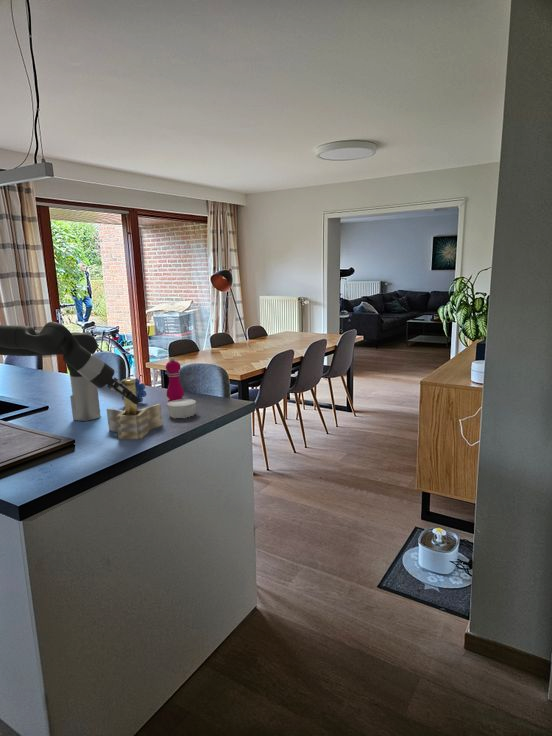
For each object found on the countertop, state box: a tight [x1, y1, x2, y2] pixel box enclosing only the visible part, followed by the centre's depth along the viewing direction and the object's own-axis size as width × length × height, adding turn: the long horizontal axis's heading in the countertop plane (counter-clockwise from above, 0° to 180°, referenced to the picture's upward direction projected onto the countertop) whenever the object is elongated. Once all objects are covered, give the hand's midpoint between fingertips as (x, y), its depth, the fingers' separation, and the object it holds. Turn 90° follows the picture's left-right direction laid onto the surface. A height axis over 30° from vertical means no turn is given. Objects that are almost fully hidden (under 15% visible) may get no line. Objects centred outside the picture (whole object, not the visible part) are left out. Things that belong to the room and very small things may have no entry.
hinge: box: [106, 403, 164, 440], centre depth 166 cm, size 18×15×8 cm
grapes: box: [120, 376, 147, 404], centre depth 202 cm, size 12×7×12 cm, turn 122°
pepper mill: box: [165, 356, 185, 403], centre depth 200 cm, size 7×7×20 cm
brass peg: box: [121, 378, 139, 415], centre depth 160 cm, size 4×4×14 cm
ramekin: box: [166, 398, 197, 419], centre depth 184 cm, size 11×11×5 cm
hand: (136, 400), depth 161 cm, fingers open, 4 cm apart
